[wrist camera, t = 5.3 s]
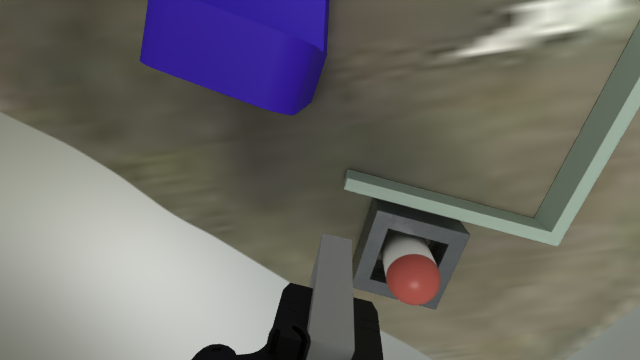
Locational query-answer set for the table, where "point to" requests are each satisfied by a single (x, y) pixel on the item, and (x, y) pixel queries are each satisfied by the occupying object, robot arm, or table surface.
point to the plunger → (409, 268)
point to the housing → (384, 214)
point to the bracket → (241, 47)
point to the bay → (569, 185)
